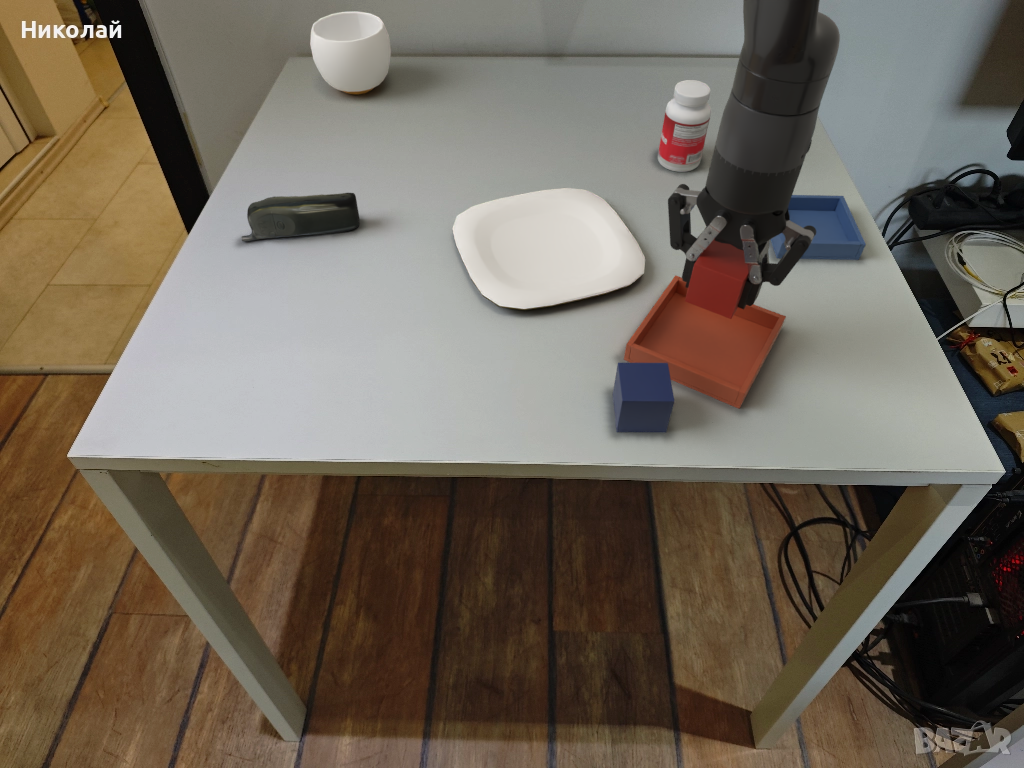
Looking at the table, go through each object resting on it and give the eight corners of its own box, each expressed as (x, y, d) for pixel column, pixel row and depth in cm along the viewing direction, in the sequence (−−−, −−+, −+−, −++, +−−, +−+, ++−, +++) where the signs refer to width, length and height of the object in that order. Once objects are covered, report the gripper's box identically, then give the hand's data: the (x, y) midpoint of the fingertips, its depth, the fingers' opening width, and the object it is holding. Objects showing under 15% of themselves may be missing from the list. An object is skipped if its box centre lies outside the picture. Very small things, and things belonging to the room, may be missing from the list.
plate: (592, 189, 100) (593, 178, 99) (662, 288, 86) (664, 277, 85) (441, 219, 95) (440, 208, 94) (489, 329, 82) (489, 318, 81)
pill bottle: (661, 146, 107) (674, 74, 99) (703, 154, 106) (719, 81, 97) (653, 169, 103) (665, 95, 95) (696, 177, 102) (712, 102, 93)
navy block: (660, 394, 76) (667, 362, 72) (666, 433, 72) (674, 401, 68) (612, 394, 76) (617, 362, 72) (616, 432, 72) (622, 400, 69)
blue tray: (837, 211, 97) (843, 195, 95) (858, 260, 90) (866, 244, 88) (760, 210, 97) (765, 194, 95) (776, 258, 90) (782, 242, 88)
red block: (748, 291, 75) (760, 253, 71) (731, 319, 72) (743, 281, 69) (703, 274, 77) (713, 236, 73) (684, 301, 74) (694, 263, 70)
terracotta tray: (779, 332, 82) (786, 316, 80) (739, 409, 74) (745, 393, 72) (671, 291, 86) (675, 275, 84) (623, 360, 79) (626, 344, 77)
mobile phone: (354, 186, 92) (232, 199, 90) (356, 200, 90) (231, 213, 88) (359, 219, 96) (242, 231, 93) (361, 232, 94) (242, 246, 91)
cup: (309, 102, 116) (296, 41, 108) (332, 66, 124) (321, 7, 116) (384, 107, 114) (376, 46, 107) (402, 71, 122) (395, 11, 115)
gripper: (665, 141, 62) (638, 290, 75) (833, 192, 57) (773, 342, 70) (698, 103, 66) (667, 251, 79) (857, 148, 61) (797, 298, 74)
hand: (717, 293), depth 74 cm, fingers closed on red block, 5 cm apart
